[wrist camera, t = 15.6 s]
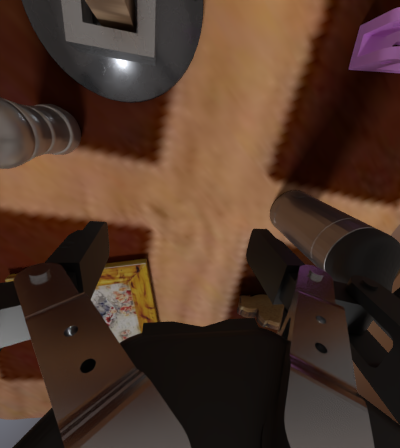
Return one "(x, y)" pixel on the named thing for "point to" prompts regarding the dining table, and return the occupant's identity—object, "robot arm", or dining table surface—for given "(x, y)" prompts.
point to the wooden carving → (261, 310)
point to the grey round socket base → (120, 45)
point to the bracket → (378, 44)
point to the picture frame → (123, 297)
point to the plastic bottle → (35, 132)
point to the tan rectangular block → (115, 13)
